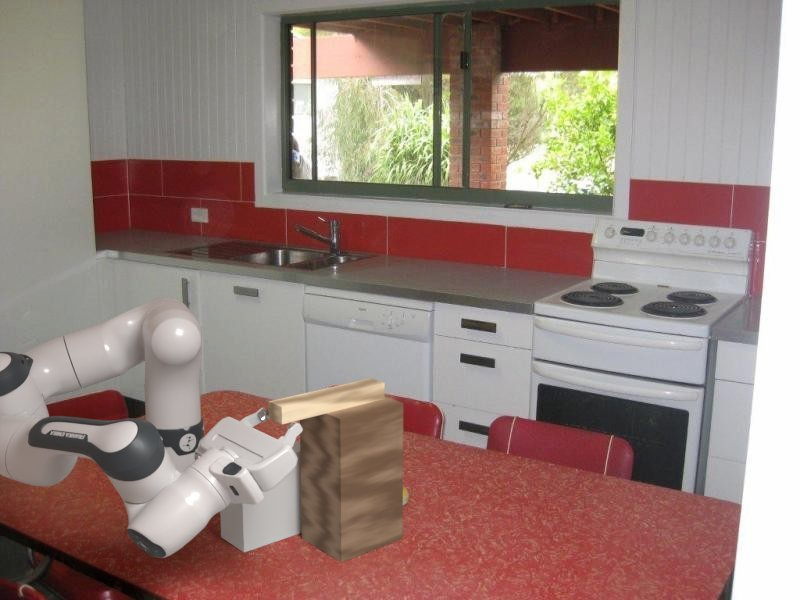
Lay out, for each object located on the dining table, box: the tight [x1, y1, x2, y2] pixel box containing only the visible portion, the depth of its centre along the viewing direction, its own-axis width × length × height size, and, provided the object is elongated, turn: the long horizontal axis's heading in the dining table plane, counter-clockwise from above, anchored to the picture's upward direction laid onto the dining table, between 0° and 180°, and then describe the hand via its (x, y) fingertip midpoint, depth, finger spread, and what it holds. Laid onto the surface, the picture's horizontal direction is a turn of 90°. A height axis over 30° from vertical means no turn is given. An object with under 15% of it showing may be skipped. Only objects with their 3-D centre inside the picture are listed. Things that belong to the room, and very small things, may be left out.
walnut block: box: [299, 396, 404, 563], centre depth 167 cm, size 12×14×26 cm
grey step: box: [219, 440, 302, 553], centre depth 170 cm, size 8×15×16 cm, turn 131°
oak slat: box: [268, 377, 386, 425], centre depth 161 cm, size 4×22×3 cm, turn 131°
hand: (282, 418), depth 155 cm, fingers open, 8 cm apart
